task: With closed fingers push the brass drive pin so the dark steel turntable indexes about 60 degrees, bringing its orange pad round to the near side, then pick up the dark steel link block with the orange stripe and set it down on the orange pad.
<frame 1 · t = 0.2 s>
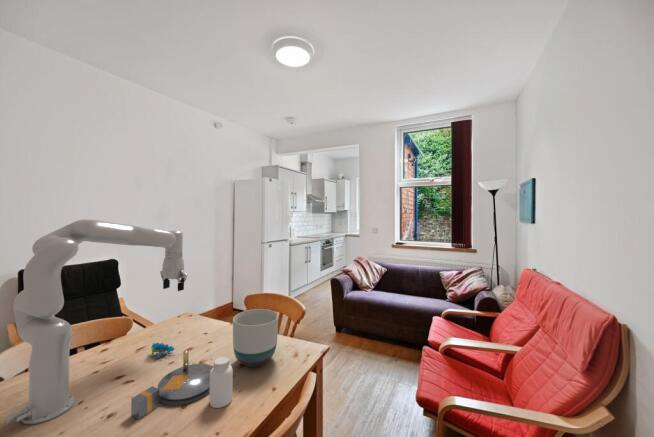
hand: (173, 289, 131), 31 cm above the table, fingers open, 9 cm apart
planter: (255, 362, 122), on the table
pill bottle: (220, 401, 96), on the table
base plate: (188, 386, 104), on the table
link block: (145, 410, 91), on the table
blue green toy: (161, 355, 127), on the table
turntable: (189, 371, 104), point 6 cm above the table, hinge at 0.0°
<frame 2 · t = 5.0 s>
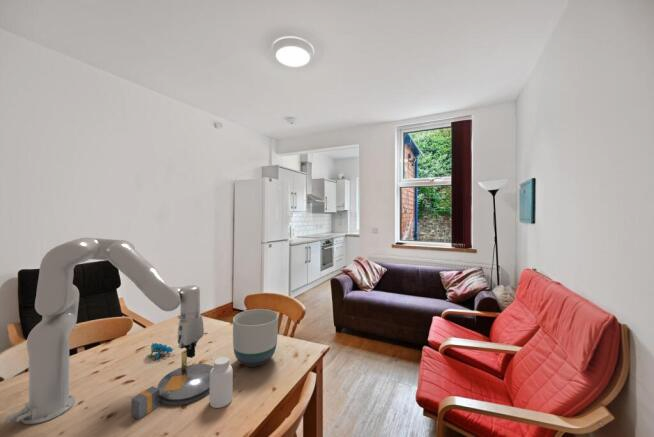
hand: (190, 356, 113), 7 cm above the table, fingers closed
turntable: (189, 371, 104), point 6 cm above the table, hinge at 4.9°, touching gripper
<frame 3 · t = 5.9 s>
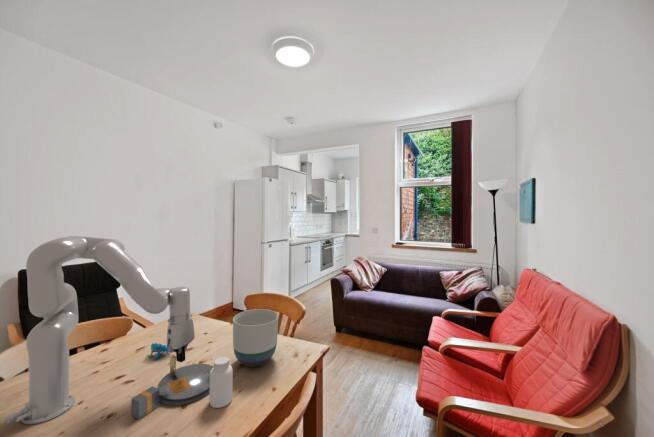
hand: (180, 360, 109), 7 cm above the table, fingers closed
turntable: (189, 371, 104), point 6 cm above the table, hinge at 39.5°, touching gripper
everything else where it was.
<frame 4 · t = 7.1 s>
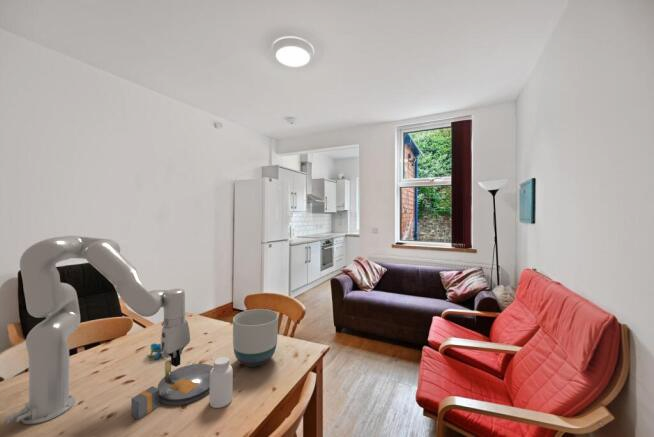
hand: (175, 364, 106), 7 cm above the table, fingers closed
turntable: (189, 371, 104), point 6 cm above the table, hinge at 63.4°, touching gripper
everything else where it was.
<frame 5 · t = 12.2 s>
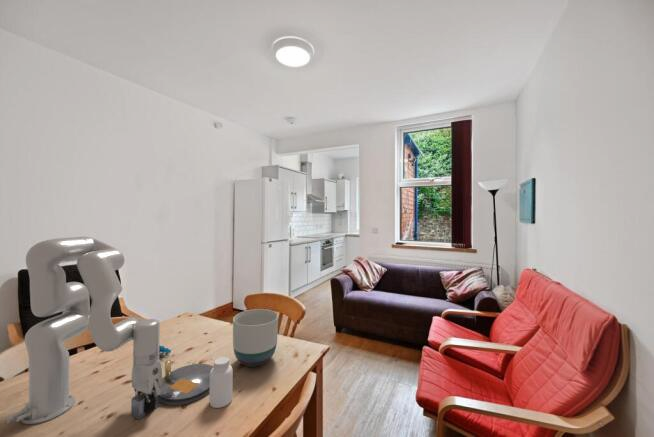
hand: (145, 408, 91), 1 cm above the table, fingers closed on link block, 4 cm apart
link block: (145, 410, 91), on the table, touching gripper
turntable: (189, 371, 104), point 6 cm above the table, hinge at 63.5°
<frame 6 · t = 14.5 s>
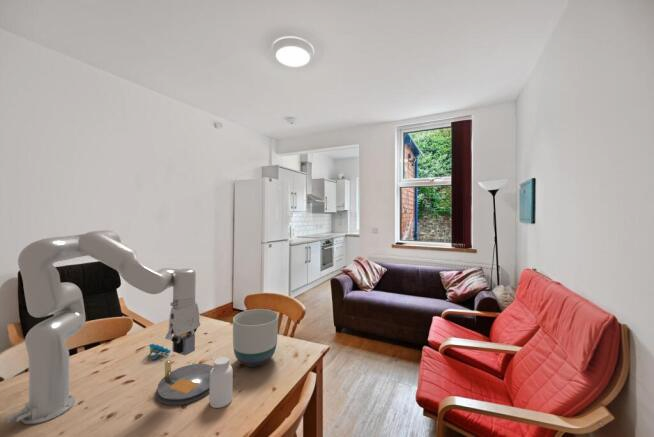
hand: (183, 348, 99), 17 cm above the table, fingers closed on link block, 4 cm apart
link block: (183, 351, 99), point 16 cm above the table, touching gripper
when the fingers open (5 cm above the table, at t = 17.1 s): link block stays where it is, resting on turntable.
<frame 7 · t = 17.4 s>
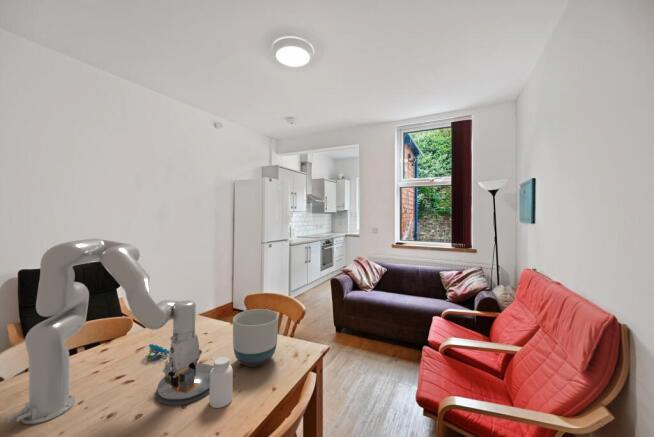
hand: (183, 380, 100), 5 cm above the table, fingers open, 6 cm apart
link block: (183, 385, 100), point 3 cm above the table, touching turntable
turntable: (189, 371, 104), point 6 cm above the table, hinge at 63.5°, touching link block
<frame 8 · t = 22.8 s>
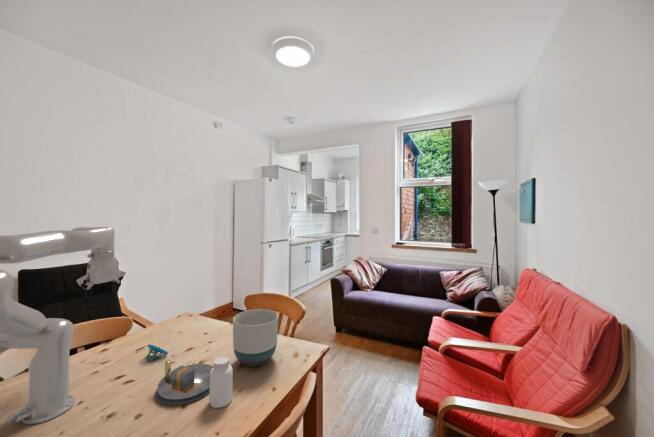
hand: (102, 295, 112), 33 cm above the table, fingers open, 9 cm apart
at the end: turntable at +64° (first picture: +0°); link block inside the target area (0.1 cm from its centre), point 3.1 cm above the table; link block tilted 0° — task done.
